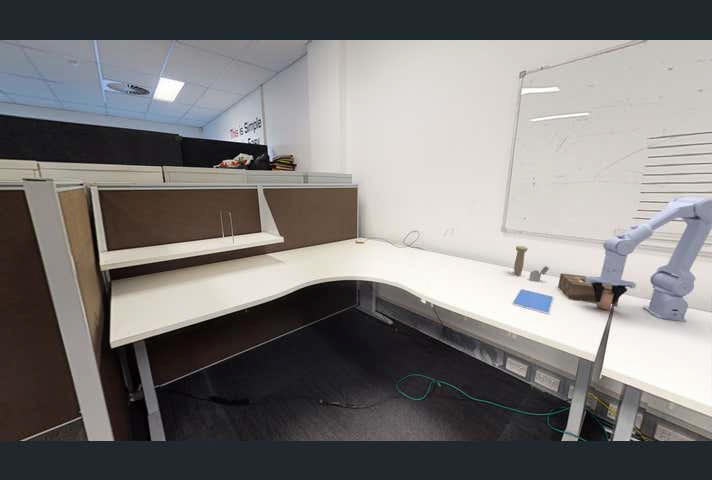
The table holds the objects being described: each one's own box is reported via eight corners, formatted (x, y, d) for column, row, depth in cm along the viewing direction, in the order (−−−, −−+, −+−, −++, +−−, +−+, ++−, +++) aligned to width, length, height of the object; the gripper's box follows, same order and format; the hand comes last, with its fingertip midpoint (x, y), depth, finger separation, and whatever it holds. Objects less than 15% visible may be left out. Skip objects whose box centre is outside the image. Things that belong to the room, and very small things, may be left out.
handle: (520, 273, 142) (525, 246, 139) (523, 277, 136) (528, 249, 133) (510, 272, 144) (515, 245, 140) (513, 276, 138) (517, 248, 134)
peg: (612, 310, 101) (616, 295, 99) (599, 308, 102) (602, 293, 101) (607, 305, 104) (610, 291, 103) (594, 303, 106) (597, 289, 104)
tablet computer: (549, 316, 98) (549, 313, 98) (510, 305, 106) (511, 302, 106) (553, 299, 112) (554, 296, 112) (519, 291, 120) (520, 288, 120)
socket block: (616, 305, 107) (621, 290, 105) (569, 298, 112) (572, 283, 111) (600, 292, 119) (603, 278, 118) (557, 286, 125) (560, 273, 123)
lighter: (530, 280, 132) (533, 265, 130) (529, 279, 134) (531, 264, 132) (546, 282, 130) (549, 267, 128) (545, 281, 132) (548, 266, 130)
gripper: (593, 269, 99) (586, 302, 102) (644, 275, 94) (634, 310, 97) (585, 264, 105) (578, 295, 108) (632, 269, 100) (623, 302, 103)
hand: (604, 302), depth 103 cm, fingers closed on peg, 4 cm apart
